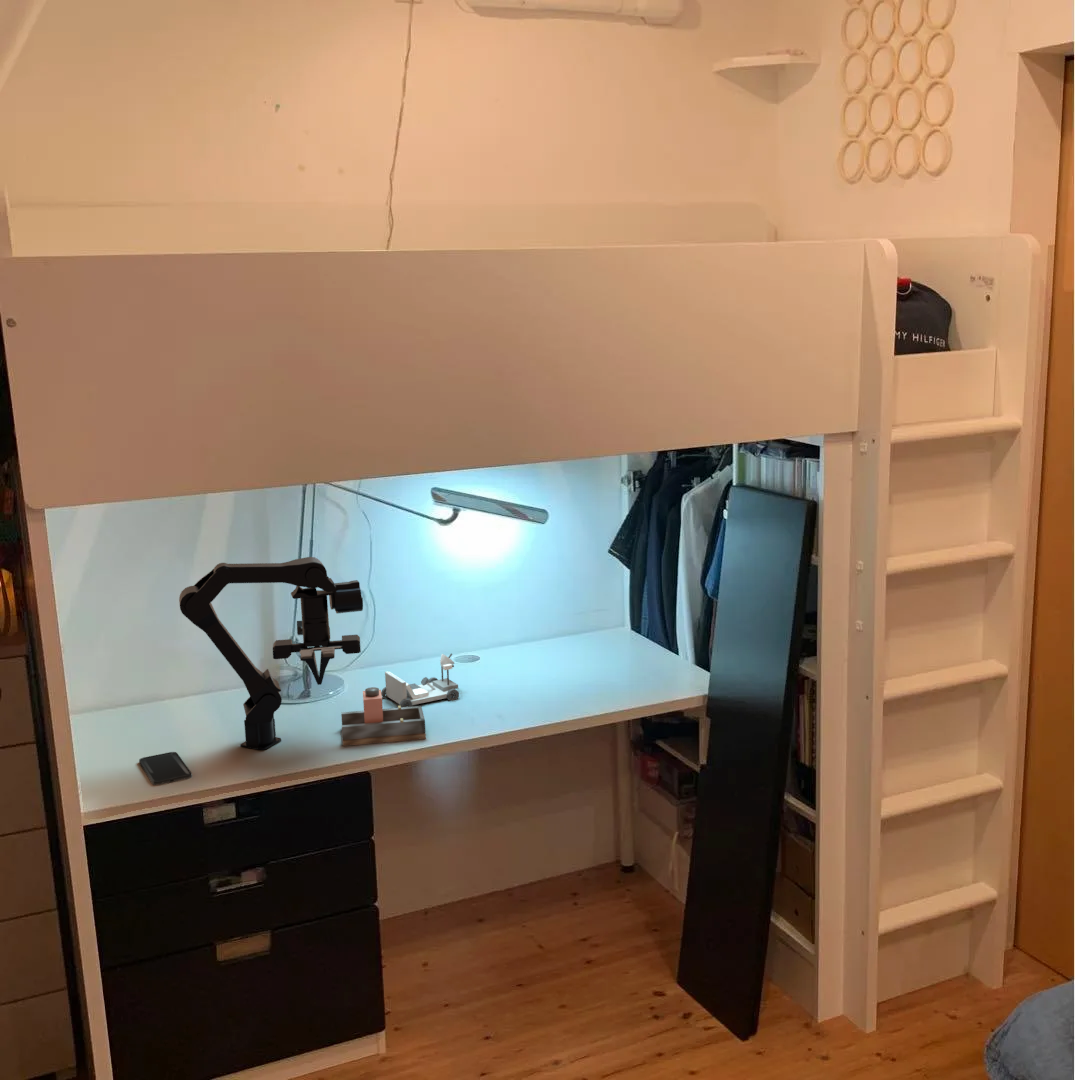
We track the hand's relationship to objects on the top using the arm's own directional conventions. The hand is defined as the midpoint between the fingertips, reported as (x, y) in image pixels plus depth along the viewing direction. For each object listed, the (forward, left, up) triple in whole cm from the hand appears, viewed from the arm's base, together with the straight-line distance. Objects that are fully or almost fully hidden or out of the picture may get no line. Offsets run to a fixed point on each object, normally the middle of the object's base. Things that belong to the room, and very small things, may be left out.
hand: (319, 684), depth 254 cm
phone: (-28, +20, -13) cm, 37 cm away
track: (+6, -12, -12) cm, 18 cm away
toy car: (+31, -9, -13) cm, 34 cm away
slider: (+5, -10, -11) cm, 16 cm away
